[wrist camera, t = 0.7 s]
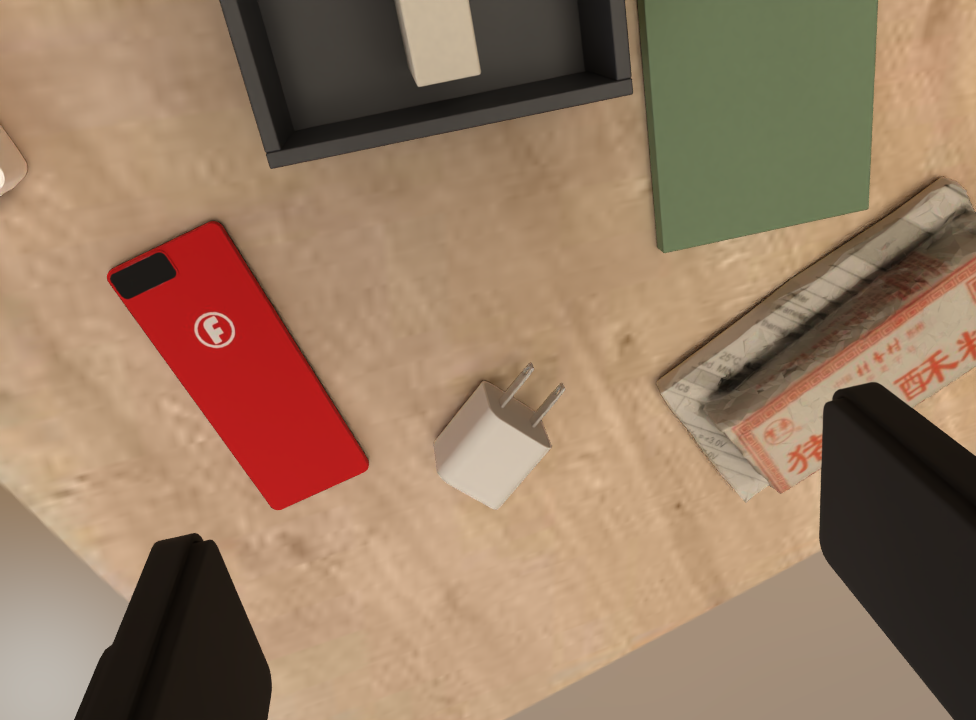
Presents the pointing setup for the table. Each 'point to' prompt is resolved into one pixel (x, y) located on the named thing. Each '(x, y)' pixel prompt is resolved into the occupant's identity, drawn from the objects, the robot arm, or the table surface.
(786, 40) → the mat
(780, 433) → the packaged product
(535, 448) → the usb wall charger
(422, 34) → the board
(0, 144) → the joystick
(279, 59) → the bin
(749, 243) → the table surface
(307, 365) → the electronic device
